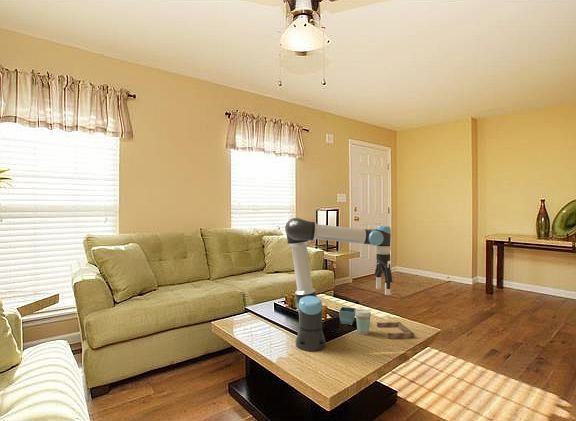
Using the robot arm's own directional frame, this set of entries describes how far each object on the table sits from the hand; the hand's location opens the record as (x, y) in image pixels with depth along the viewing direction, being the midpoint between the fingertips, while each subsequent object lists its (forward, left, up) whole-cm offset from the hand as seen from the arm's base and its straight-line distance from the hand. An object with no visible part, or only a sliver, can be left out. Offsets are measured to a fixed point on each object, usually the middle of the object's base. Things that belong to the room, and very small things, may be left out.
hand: (382, 291), depth 179 cm
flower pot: (-17, +13, -23) cm, 31 cm away
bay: (+5, -1, -22) cm, 23 cm away
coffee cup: (-12, -1, -23) cm, 25 cm away
